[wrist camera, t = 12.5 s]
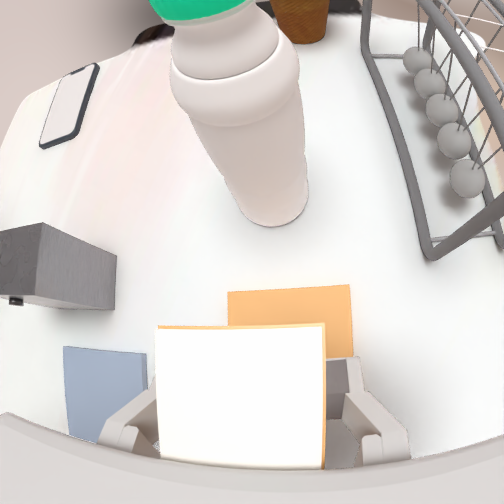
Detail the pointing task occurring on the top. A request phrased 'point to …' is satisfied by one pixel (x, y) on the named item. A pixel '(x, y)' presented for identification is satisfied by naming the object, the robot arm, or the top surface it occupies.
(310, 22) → the disposable coffee cup
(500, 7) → the newton's cradle
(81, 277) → the control box
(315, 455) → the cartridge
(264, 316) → the orange pad
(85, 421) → the blue pad
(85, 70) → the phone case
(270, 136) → the water bottle
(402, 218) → the top surface
